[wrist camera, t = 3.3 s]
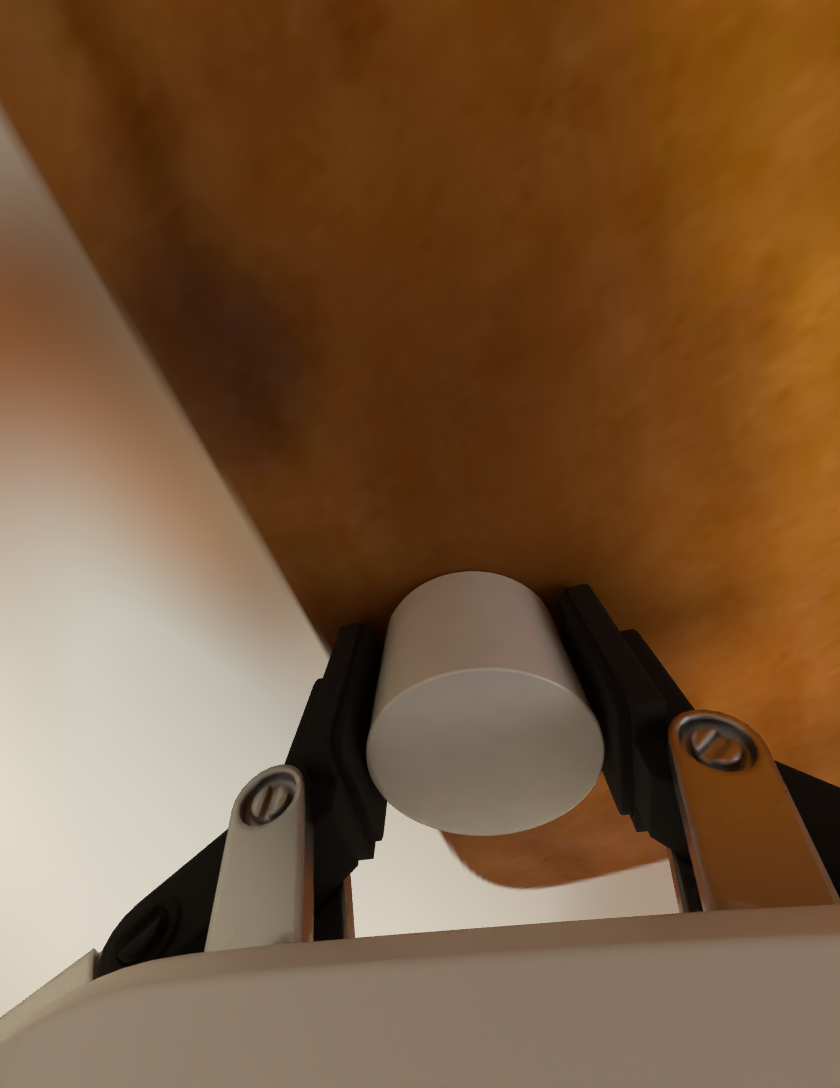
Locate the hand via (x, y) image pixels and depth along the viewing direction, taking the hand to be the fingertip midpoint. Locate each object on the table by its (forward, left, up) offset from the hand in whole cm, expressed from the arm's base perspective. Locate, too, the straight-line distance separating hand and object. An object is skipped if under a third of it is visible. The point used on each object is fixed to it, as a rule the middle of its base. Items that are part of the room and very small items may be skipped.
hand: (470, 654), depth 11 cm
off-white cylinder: (0, 0, 0) cm, 0 cm away
